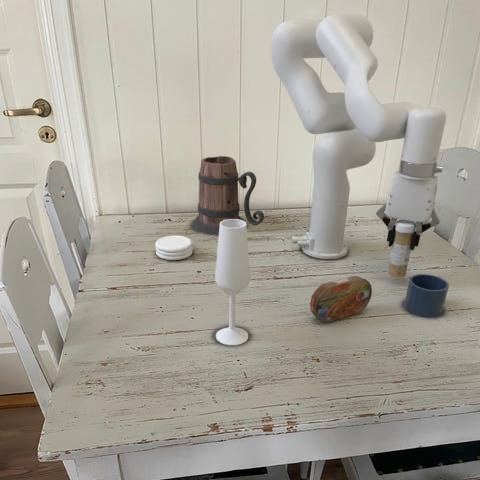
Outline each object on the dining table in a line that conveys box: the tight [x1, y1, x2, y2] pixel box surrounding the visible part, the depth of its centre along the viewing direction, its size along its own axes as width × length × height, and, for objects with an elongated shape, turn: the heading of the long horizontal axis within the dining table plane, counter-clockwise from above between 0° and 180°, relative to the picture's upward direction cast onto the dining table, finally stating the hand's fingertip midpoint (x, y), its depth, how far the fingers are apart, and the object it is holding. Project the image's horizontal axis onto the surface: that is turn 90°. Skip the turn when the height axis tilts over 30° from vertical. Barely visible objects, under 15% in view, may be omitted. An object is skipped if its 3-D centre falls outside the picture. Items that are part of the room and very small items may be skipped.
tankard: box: [191, 155, 265, 236], centre depth 147 cm, size 24×17×20 cm
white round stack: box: [154, 235, 194, 261], centre depth 133 cm, size 10×10×4 cm
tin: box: [309, 275, 373, 323], centre depth 105 cm, size 15×3×8 cm, turn 117°
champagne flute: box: [214, 219, 251, 346], centre depth 93 cm, size 7×7×24 cm
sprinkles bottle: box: [387, 219, 416, 279], centre depth 117 cm, size 5×5×14 cm
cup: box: [403, 273, 450, 318], centre depth 109 cm, size 8×8×6 cm
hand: (401, 245), depth 116 cm, fingers closed on sprinkles bottle, 4 cm apart
